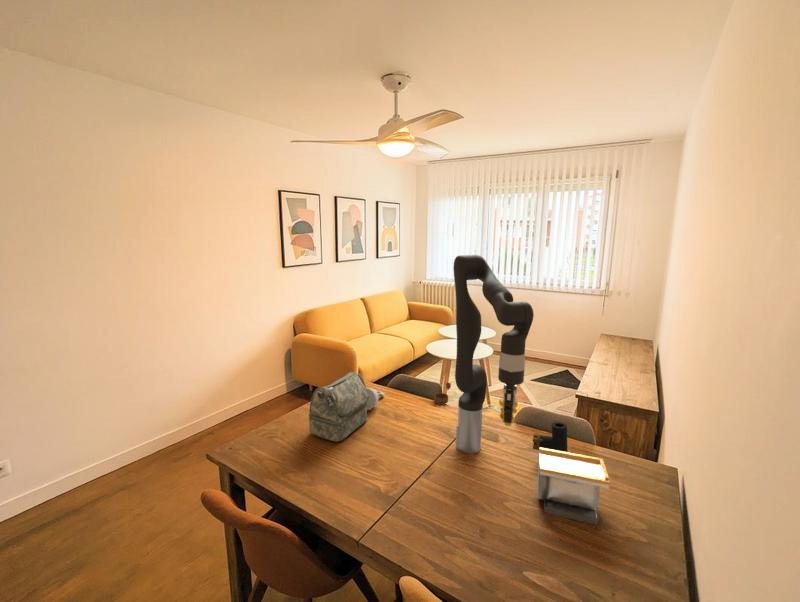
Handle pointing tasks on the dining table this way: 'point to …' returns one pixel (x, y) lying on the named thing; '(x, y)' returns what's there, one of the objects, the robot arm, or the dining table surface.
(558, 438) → the pipe connector
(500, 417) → the pressure relief valve
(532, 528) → the dining table surface
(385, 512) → the dining table surface
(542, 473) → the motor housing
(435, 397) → the place setting
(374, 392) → the engine component
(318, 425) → the lunch bag
